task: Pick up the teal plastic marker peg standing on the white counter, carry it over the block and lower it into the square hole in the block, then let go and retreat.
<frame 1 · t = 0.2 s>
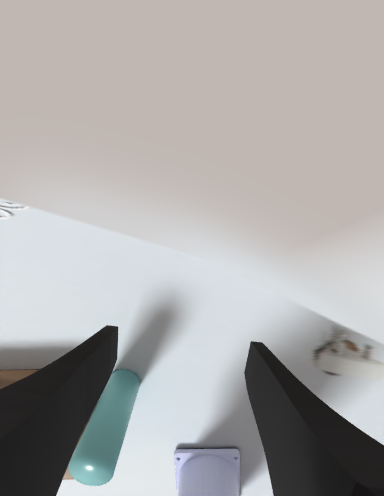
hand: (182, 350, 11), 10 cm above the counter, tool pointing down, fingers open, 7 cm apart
peg: (124, 381, 24), on the counter
socket block: (37, 411, 25), on the counter
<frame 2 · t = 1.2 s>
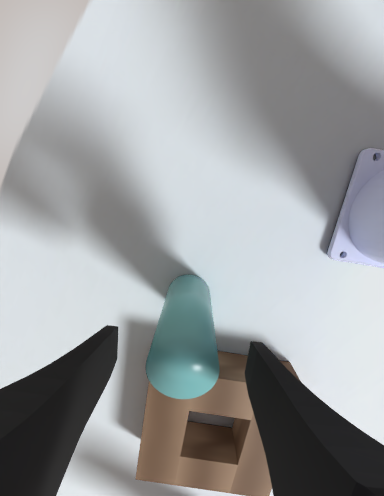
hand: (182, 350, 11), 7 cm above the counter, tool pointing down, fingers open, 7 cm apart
peg: (188, 294, 18), on the counter
socket block: (212, 404, 20), on the counter
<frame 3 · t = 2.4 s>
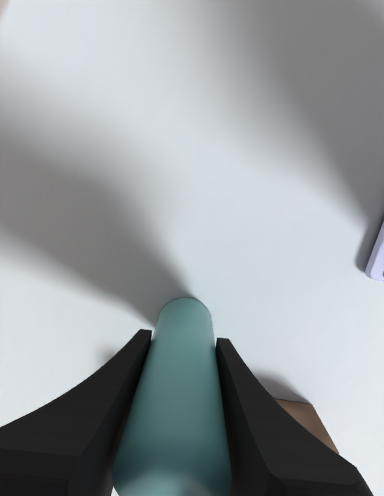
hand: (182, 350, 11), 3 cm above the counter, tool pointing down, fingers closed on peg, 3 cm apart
peg: (185, 322, 14), on the counter, touching gripper
socket block: (214, 453, 17), on the counter
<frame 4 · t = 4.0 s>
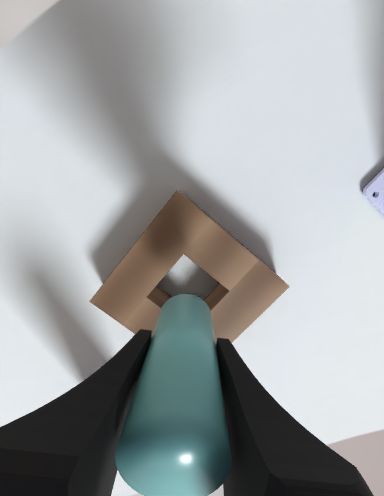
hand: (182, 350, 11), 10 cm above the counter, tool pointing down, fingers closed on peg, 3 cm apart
peg: (185, 318, 14), point 7 cm above the counter, touching gripper
socket block: (188, 280, 21), on the counter
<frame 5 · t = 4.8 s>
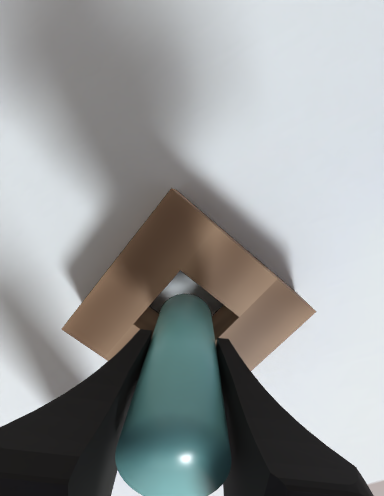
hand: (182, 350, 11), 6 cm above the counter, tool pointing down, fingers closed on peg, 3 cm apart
peg: (185, 318, 14), point 3 cm above the counter, touching gripper
socket block: (187, 299, 17), on the counter
when the fingers open (4 cm above the counter, at t = 5.7 s): peg stays where it is, resting in socket block.
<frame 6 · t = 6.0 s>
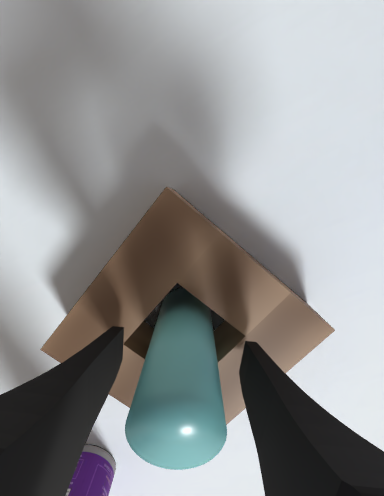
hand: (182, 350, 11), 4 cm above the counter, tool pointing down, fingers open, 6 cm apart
container: (90, 461, 19), on the counter
peg: (185, 310, 15), resting in socket block
socket block: (186, 312, 15), on the counter
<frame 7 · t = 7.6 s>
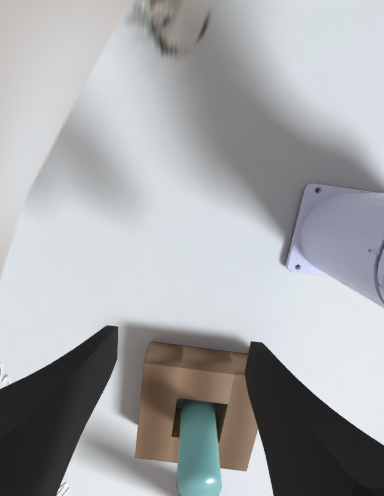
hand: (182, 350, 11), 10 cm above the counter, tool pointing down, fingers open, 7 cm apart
peg: (197, 393, 24), resting in socket block
socket block: (198, 393, 24), on the counter
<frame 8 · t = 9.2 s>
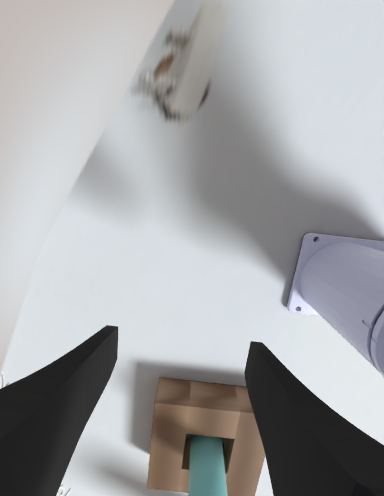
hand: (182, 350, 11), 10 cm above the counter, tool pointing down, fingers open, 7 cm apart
peg: (205, 423, 25), resting in socket block
socket block: (206, 424, 25), on the counter
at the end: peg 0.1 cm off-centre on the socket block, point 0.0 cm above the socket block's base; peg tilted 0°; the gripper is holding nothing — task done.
